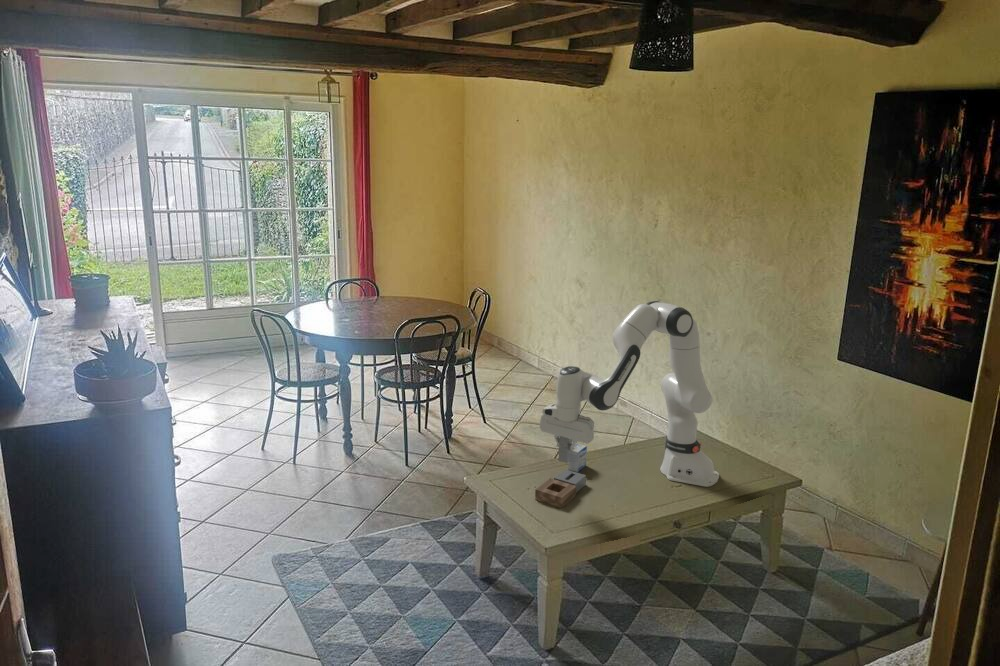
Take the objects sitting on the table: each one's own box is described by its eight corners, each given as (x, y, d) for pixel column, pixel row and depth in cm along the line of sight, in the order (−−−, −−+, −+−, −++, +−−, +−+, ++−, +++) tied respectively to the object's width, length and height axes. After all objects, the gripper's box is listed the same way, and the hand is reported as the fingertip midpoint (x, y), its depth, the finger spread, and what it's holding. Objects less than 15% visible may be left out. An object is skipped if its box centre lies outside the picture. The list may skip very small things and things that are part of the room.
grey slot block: (585, 484, 272) (586, 475, 270) (574, 494, 264) (575, 484, 263) (564, 478, 276) (565, 469, 275) (553, 487, 269) (553, 477, 268)
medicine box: (577, 472, 281) (578, 452, 279) (567, 470, 284) (568, 449, 282) (586, 465, 288) (587, 445, 286) (576, 462, 290) (577, 443, 288)
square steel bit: (571, 459, 257) (572, 434, 255) (566, 463, 254) (568, 436, 252) (562, 457, 259) (564, 431, 256) (558, 460, 256) (559, 434, 253)
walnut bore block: (575, 495, 263) (576, 485, 262) (561, 507, 254) (562, 497, 253) (549, 487, 269) (550, 478, 268) (535, 499, 260) (535, 489, 259)
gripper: (598, 416, 249) (595, 452, 253) (547, 403, 260) (545, 438, 263) (590, 421, 244) (587, 458, 247) (538, 408, 255) (536, 444, 258)
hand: (565, 448), depth 255 cm, fingers closed on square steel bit, 3 cm apart
